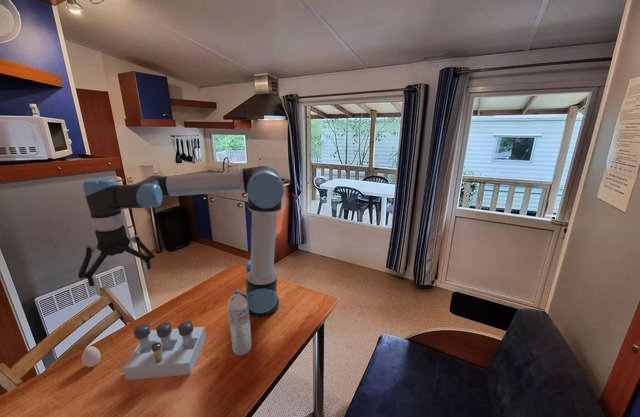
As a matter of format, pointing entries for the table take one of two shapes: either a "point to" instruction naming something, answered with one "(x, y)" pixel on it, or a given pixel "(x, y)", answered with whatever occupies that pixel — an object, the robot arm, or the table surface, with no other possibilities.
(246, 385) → the table surface
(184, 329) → the knob
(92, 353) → the egg
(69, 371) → the table surface
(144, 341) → the knob
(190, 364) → the console
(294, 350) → the table surface
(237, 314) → the water bottle
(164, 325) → the knob mid
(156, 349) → the pot stem
